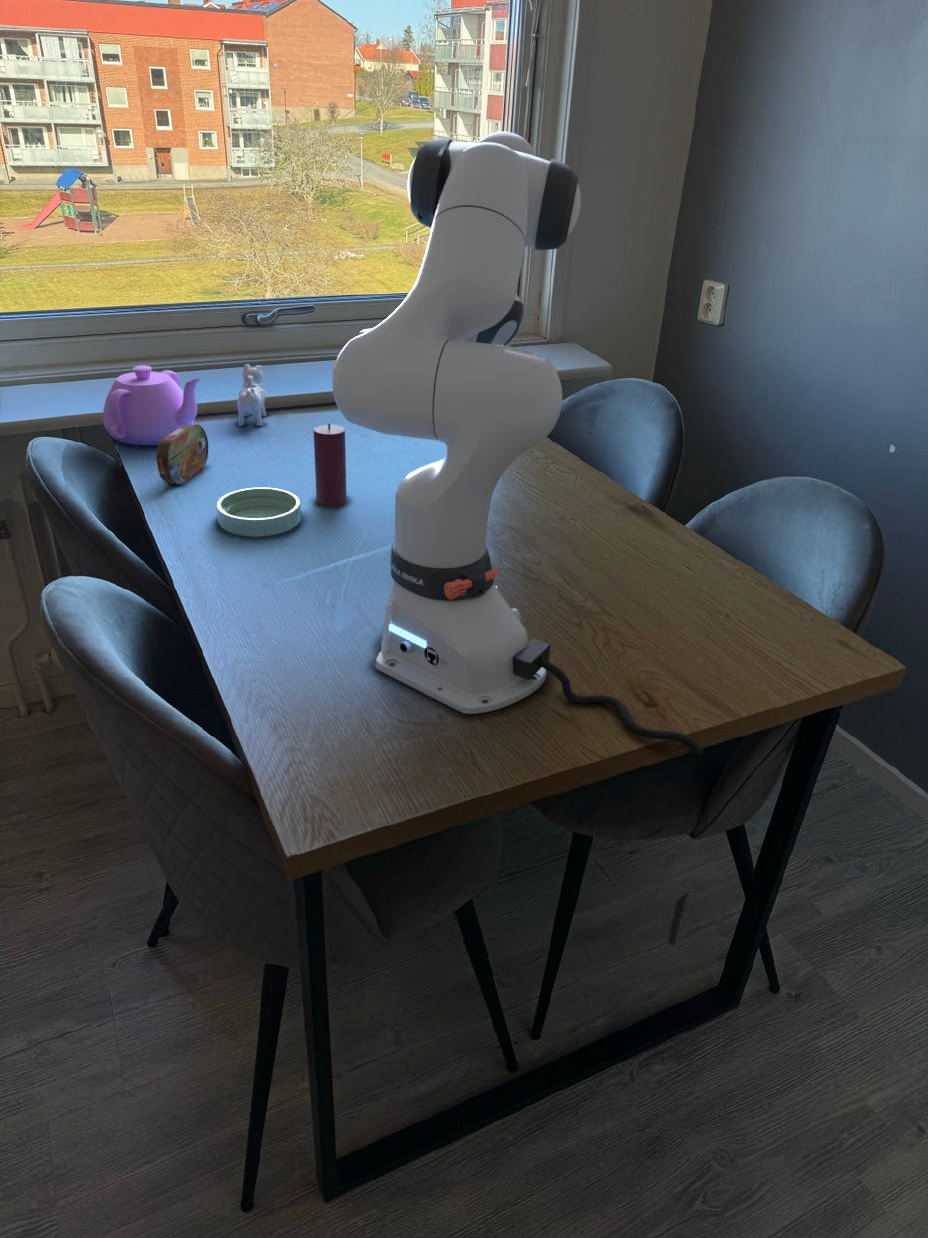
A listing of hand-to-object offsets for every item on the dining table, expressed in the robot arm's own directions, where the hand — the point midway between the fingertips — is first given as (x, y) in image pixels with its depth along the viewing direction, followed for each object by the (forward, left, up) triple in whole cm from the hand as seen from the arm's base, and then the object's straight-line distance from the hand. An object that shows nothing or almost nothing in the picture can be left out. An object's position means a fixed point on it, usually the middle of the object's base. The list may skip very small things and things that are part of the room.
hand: (368, 356), depth 145 cm
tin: (+25, +23, -24) cm, 42 cm away
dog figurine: (+47, -3, -24) cm, 53 cm away
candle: (0, +8, -24) cm, 25 cm away
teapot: (+46, +18, -24) cm, 55 cm away
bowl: (0, +22, -24) cm, 33 cm away
